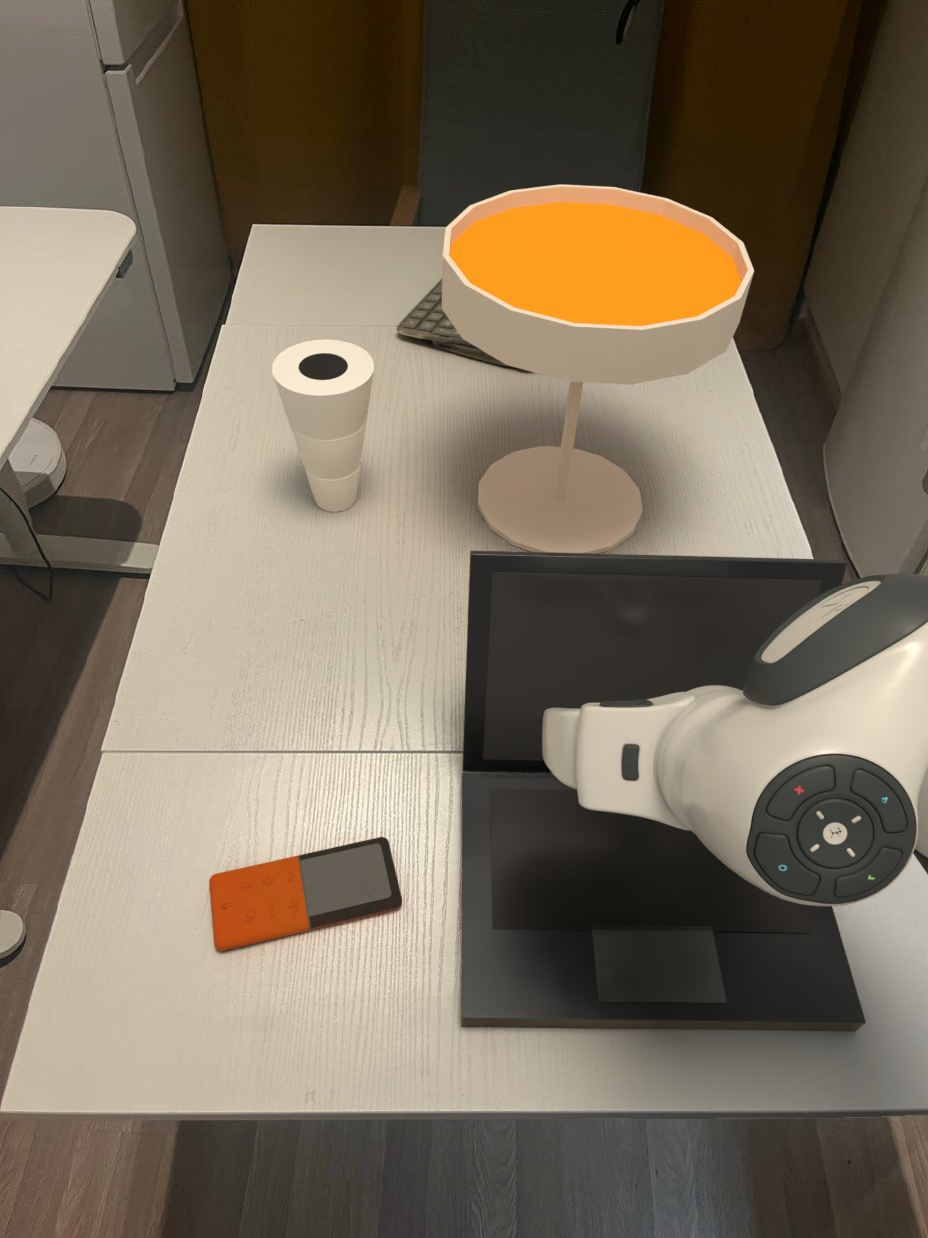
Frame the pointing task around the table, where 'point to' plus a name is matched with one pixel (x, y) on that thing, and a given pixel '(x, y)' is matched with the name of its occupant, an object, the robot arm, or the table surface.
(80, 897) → the table surface
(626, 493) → the cream stemmed bowl
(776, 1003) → the notebook
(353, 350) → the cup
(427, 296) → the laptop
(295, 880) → the phone
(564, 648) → the notebook screen
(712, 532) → the table surface
